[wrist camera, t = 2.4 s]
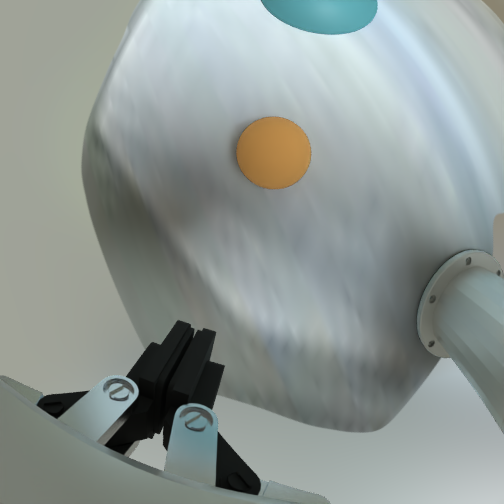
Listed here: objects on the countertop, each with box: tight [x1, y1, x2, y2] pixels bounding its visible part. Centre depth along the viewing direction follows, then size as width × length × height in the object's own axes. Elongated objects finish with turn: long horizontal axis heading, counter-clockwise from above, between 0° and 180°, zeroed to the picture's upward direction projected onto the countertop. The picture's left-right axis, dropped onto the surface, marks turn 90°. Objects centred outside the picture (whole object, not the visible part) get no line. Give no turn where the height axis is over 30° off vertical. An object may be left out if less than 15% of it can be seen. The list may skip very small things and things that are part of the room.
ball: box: [236, 117, 311, 189], centre depth 20 cm, size 6×6×6 cm
